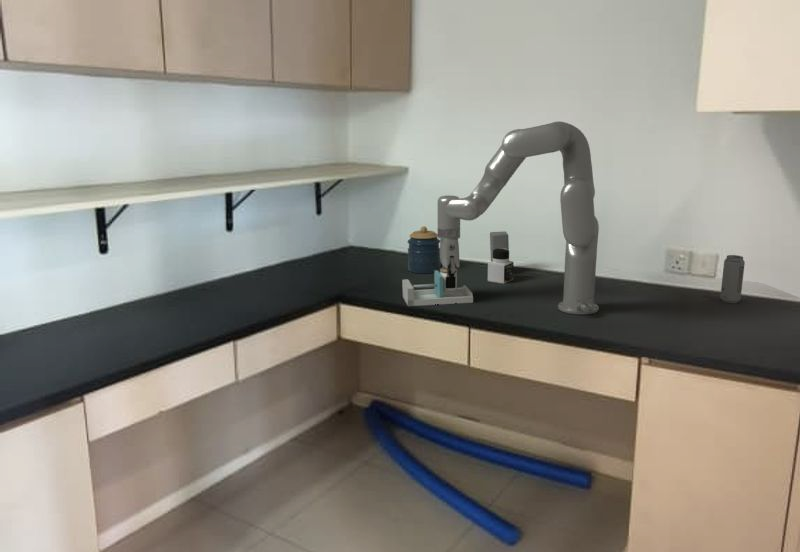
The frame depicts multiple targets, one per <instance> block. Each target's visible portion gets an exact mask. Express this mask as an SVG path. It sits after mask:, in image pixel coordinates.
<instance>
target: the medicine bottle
mask: <svg viewBox="0 0 800 552" xmlns="http://www.w3.org/2000/svg"><path fill="white" fill-rule="evenodd" d="M493 260H494V261H491V260H490V261H489V262H487V282H491V283H497V284H507V283H509V282H511V281H514V261H513V260H510V249H509V250H507V249H504V248H497V249H494V250H493ZM508 260H509V261H508Z"/></svg>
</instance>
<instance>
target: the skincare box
mask: <svg viewBox="0 0 800 552" xmlns="http://www.w3.org/2000/svg"><path fill="white" fill-rule="evenodd" d="M509 241H510V240H509V234H508V232H507V231H506V230H505V231H490V232H489V243H490V244H489V245H490V246H489V247H490V262H491V261H494V260H493V250H494V249H497V248H504V249H507V250H509V251H510V249H509V247H510V244H509ZM508 261H510V259H509V260H508Z"/></svg>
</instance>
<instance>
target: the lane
mask: <svg viewBox="0 0 800 552" xmlns="http://www.w3.org/2000/svg"><path fill="white" fill-rule="evenodd" d="M402 298H403V300H404V302H405V304H406V305H407V307H416V306H417V307H419V306H434V305H435V304H436V305H435V306H437V304H439V305H450V304H451V305H452V304H455V303H457V304H472V303H474V296H473V292H472V291H471V290H470V289H469V288H468V287H467V285H465V284H464V285H462V287H457V290H456V291H452V292H446V291H443V298H438V297H437V296H436V295H435V293H434V288H432V289H429V288H428V289H415V288H413V284H412V283H411V281H410V280H409V279H406V278H405V279H402Z"/></svg>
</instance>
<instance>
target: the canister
mask: <svg viewBox="0 0 800 552" xmlns="http://www.w3.org/2000/svg"><path fill="white" fill-rule="evenodd" d="M409 237H410V238H409V239H408V240H407V243H408V248H407V257H408V258H407V259H408V263H407V268H408V269H407V270H408V271H409V272H411V273H414V274H434V271H437V270H438V271H439V272H440V268H441V262H440V238H438V233H436V232H435V231H433V230H428V228H427V226H424V225H423V226H421V227H420V230H416V231H413V232H412V233H411V234H409Z"/></svg>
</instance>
